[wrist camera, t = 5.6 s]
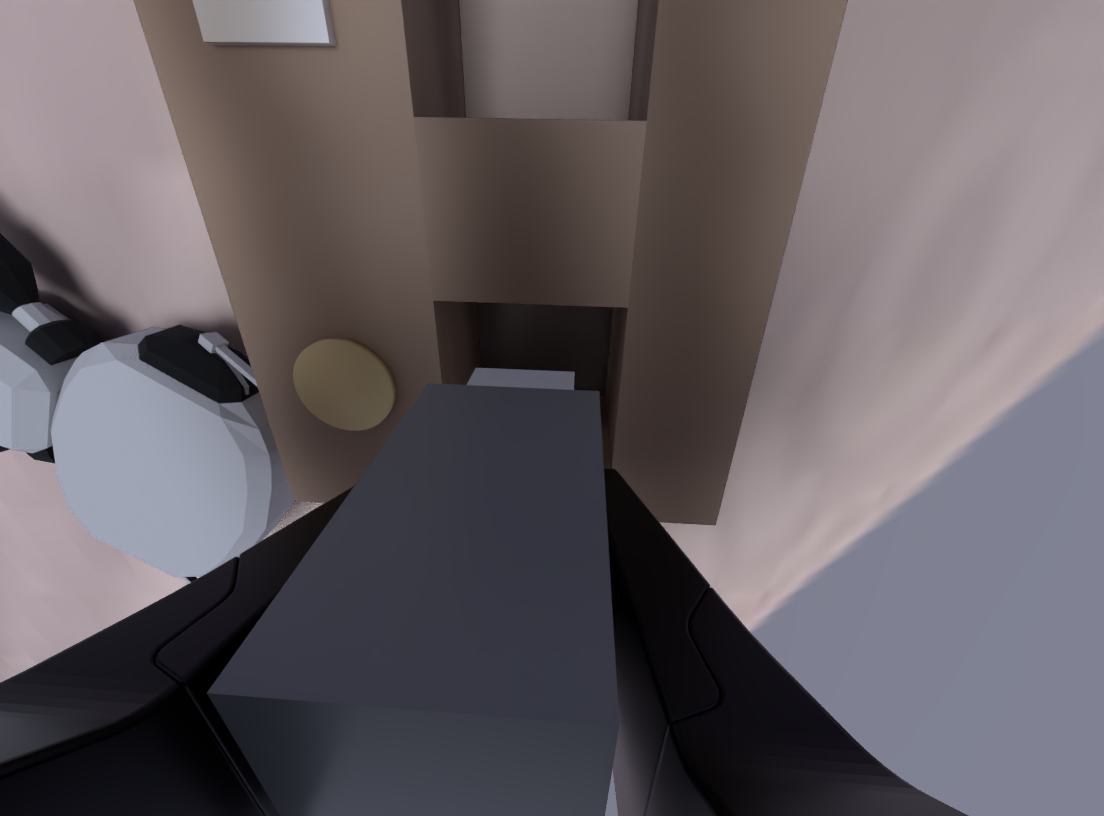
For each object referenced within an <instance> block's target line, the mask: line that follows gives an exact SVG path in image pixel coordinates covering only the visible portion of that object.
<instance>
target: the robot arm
mask: <svg viewBox="0 0 1104 816" xmlns="http://www.w3.org/2000/svg"><path fill="white" fill-rule="evenodd" d="M604 479H605V495H606V512H607V529H608V545H609V562H610V579H611V595H612V612H613V629H614V645H615V662H616V679H617V695H618V712H619V732H618V738H617V744H616V750H615V756H614V762H613V775H614V783H615V792H616V800H617V808H618V816H968V815H966V814H964V813H962V812H960V811H958V810H956V809H954V808H952V807H950V806H948V805H946V804H944V803H942V802H941V801H938V800H937V799H935V798H933V797H930V796H929V795H927V794H925V793H924V792H922V791H920V790H918V789H917V788H915V787H913V786H912V785H910V784H909V783H907V782H906V781H904V780H903V779H901V778H900V777H899V776H897V775H896V774H895V773H893V772H892V771H891V770H889V769H888V768H887V767H885V766H884V765H883V764H882V763H880V762H879V761H878V760H877V759H876V758H875V757H873V756H872V755H871V754H870V753H869V752H867V751H866V750H865V749H864V748H863V747H862V746H861V745H860V744H859V743H858V742H857V741H856V740H855V739H854V738H853V737H852V736H851V735H850V734H849V733H848V732H847V731H846V730H845V729H844V728H843V727H842V726H841V725H840V724H839V723H838V722H837V721H836V720H835V719H834V718H833V717H832V716H831V715H830V714H829V713H828V712H827V711H826V710H825V709H824V708H823V707H822V706H821V705H820V704H819V703H818V702H817V701H816V700H815V699H814V698H813V697H812V696H811V695H810V694H809V693H808V692H807V691H806V690H805V689H804V688H803V686H802V685H800V683H799V682H798V681H797V680H795V678H794V677H793V676H792V675H791V674H789V672H788V671H787V670H786V669H785V668H784V667H783V666H782V665H781V664H780V663H779V662H778V661H777V660H776V659H775V658H774V657H773V656H772V655H771V654H770V653H769V652H768V651H767V650H766V649H765V647H764V646H763V645H762V644H761V643H760V642H759V641H758V640H757V639H756V638H755V637H754V636H753V635H752V634H751V633H750V632H749V631H748V629H747V628H746V627H745V626H744V625H743V624H742V622H741V621H740V620H739V619H738V618H737V617H736V615H735V614H734V613H733V612H732V611H731V610H730V608H729V607H728V606H727V605H726V604H725V602H724V601H723V600H722V599H721V598H720V596H719V595H718V594H717V593H716V591H715V590H714V589H713V588H710V585H709V583H708V582H707V581H706V579H705V578H704V577H703V576H702V574H701V573H700V572H699V571H698V569H697V568H696V567H695V566H694V565H693V563H692V562H691V561H690V560H689V558H688V557H687V556H686V555H685V553H684V552H683V551H682V550H681V549H680V547H679V546H678V545H677V544H676V542H675V541H674V540H673V539H672V537H671V536H670V535H669V534H668V533H667V531H666V530H665V529H664V528H663V526H662V525H661V524H660V523H659V521H658V520H657V519H656V518H655V517H654V515H653V514H652V513H651V512H650V510H649V509H648V508H647V507H646V505H645V504H644V503H643V502H642V501H641V499H640V498H639V497H638V496H637V494H636V493H635V492H634V491H633V489H632V488H631V487H630V486H629V485H628V483H627V482H626V481H625V480H624V478H623V477H622V476H621V475H620V473H619V472H618V471H617V470H616V469H613V468H604ZM354 486H355V485H354ZM354 486H353V487H351V488H349V489H348V490H346V491H344V492H343V493H341V494H339V495H338V496H336V497H334V498H333V499H331V500H329V501H328V502H326V503H324V504H323V505H321V506H319V507H318V508H316V509H314V510H313V511H311V512H309V513H308V514H306V515H304V516H303V517H301V518H299V519H297V520H296V521H294V522H292V523H291V524H289V525H287V526H286V527H284V528H282V529H281V530H279V531H277V532H276V533H274V534H272V535H271V536H269V537H267V538H266V539H264V540H262V541H261V542H259V543H257V544H256V545H254V546H252V547H251V548H249V549H247V550H246V551H244V552H242V553H241V554H240V555H239V557H234V558H232V559H230V560H229V561H227V562H225V563H224V564H222V565H220V566H219V567H217V568H215V569H214V570H212V571H210V572H208V573H207V574H205V575H203V576H201V577H200V578H198V579H196V580H195V581H193V582H191V583H189V584H188V585H186V586H184V587H182V588H181V589H179V590H177V591H175V592H173V593H172V594H170V595H168V596H166V597H164V598H162V599H160V600H159V601H157V602H155V603H153V604H151V605H149V606H147V607H146V608H144V609H142V610H140V611H138V612H136V613H134V614H133V615H131V616H129V617H127V618H125V619H123V620H121V621H119V622H117V623H115V624H113V625H111V626H110V627H108V628H106V629H104V630H102V631H100V632H98V633H96V634H94V635H92V636H90V637H89V638H87V639H85V640H83V641H81V642H79V643H77V644H75V645H73V646H71V647H69V648H68V649H66V650H64V651H62V652H60V653H58V654H56V655H54V656H52V657H50V658H48V659H46V660H45V661H43V662H41V663H39V664H37V665H35V666H33V667H31V668H29V669H27V670H25V671H23V672H21V673H19V674H17V675H15V676H13V677H11V678H9V679H7V680H5V681H3V682H1V683H0V816H280V815H279V813H278V811H277V810H276V808H275V806H274V805H273V803H272V801H271V800H270V798H269V796H268V795H267V793H266V791H265V790H264V788H263V786H262V785H261V783H260V781H259V780H258V778H257V776H256V775H255V773H254V771H253V770H252V768H251V766H250V765H249V763H248V761H247V760H246V758H245V756H244V755H243V753H242V751H241V749H240V748H239V746H238V744H237V743H236V741H235V739H234V738H233V736H232V734H231V733H230V731H229V729H228V728H227V726H226V724H225V723H224V721H223V719H222V718H221V716H220V714H219V713H218V711H217V709H216V708H215V706H214V704H213V703H212V701H211V699H210V698H209V696H208V694H207V692H208V691H209V689H210V688H211V686H212V685H213V684H214V682H215V681H216V679H217V678H218V677H219V675H220V674H221V672H222V671H223V670H224V668H225V667H226V665H227V664H228V663H229V661H230V660H231V658H232V657H233V656H234V654H235V653H236V651H237V650H238V649H239V647H240V646H241V644H242V643H243V642H244V640H245V639H246V637H247V636H248V635H249V633H250V632H251V630H252V629H253V628H254V626H255V625H256V623H257V622H258V621H259V619H260V618H261V616H262V615H263V614H264V612H265V611H266V609H267V608H268V607H269V605H270V604H271V602H272V601H273V600H274V598H275V597H276V595H277V594H278V593H279V591H280V590H281V588H282V587H283V586H284V584H285V583H286V581H287V580H288V579H289V577H290V576H291V574H292V573H293V572H294V570H295V569H296V567H297V566H298V565H299V563H300V562H301V560H302V559H303V558H304V556H305V555H306V553H307V552H308V551H309V549H310V548H311V546H312V545H313V544H314V542H315V541H316V539H317V538H318V537H319V535H320V534H321V532H322V531H323V530H324V528H325V527H326V525H327V524H328V523H329V521H330V520H331V518H332V517H333V516H334V514H335V513H336V511H337V510H338V509H339V507H340V506H341V504H342V503H343V502H344V500H345V499H346V497H347V496H348V495H349V493H350V492H351V490H352V489H353V488H354Z"/></svg>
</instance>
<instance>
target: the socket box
mask: <svg viewBox="0 0 1104 816" xmlns="http://www.w3.org/2000/svg"><path fill="white" fill-rule="evenodd" d="M847 2H848V0H638V11H637V23H636V35H635V47H634V59H633V71H632V82H631V94H630V106H629V118H628V121H622V120H564V119H506V118H466V114H465V98H464V81H463V65H462V48H461V31H460V15H459V0H134V4H135V7H136V10H137V13H138V16H139V19H140V22H141V25H142V28H143V32H144V35H145V38H146V41H147V44H148V47H149V50H150V53H151V56H152V60H153V63H154V66H155V69H156V72H157V75H158V78H159V81H160V84H161V88H162V91H163V94H164V97H165V100H166V103H167V106H168V109H169V113H170V116H171V119H172V122H173V125H174V128H175V131H176V134H177V137H178V141H179V144H180V147H181V150H182V153H183V156H184V159H185V162H186V165H187V169H188V172H189V175H190V178H191V181H192V184H193V187H194V190H195V193H196V197H197V200H198V203H199V206H200V209H201V212H202V215H203V218H204V222H205V225H206V228H207V231H208V234H209V237H210V240H211V243H212V246H213V250H214V253H215V256H216V259H217V262H218V265H219V268H220V271H221V274H222V278H223V281H224V284H225V287H226V290H227V293H228V296H229V299H230V302H231V306H232V309H233V312H234V315H235V318H236V321H237V324H238V327H239V331H240V334H241V337H242V340H243V343H244V346H245V349H246V352H247V355H248V359H249V362H250V365H251V368H252V371H253V374H254V377H255V380H256V383H257V387H258V390H259V393H260V396H261V399H262V402H263V405H264V408H265V411H266V415H267V418H268V421H269V424H270V427H271V430H272V433H273V436H274V440H275V443H276V446H277V449H278V452H279V455H280V458H281V461H282V464H283V468H284V471H285V474H286V477H287V480H288V483H289V486H290V489H291V492H292V496H293V499H294V501H306V502H323V503H326V502H328V501H329V500H331V499H333V498H334V497H336V496H338V495H339V494H341V493H343V492H344V491H346V490H348V489H349V488H351V487H353V486H354V485H356V483H357V482H358V481H359V479H360V478H361V476H362V475H363V474H364V472H365V471H366V469H367V468H368V467H369V465H370V464H371V462H372V461H373V460H374V458H375V457H376V455H377V454H378V453H379V451H380V450H381V448H382V447H383V446H384V444H385V443H386V441H387V440H388V438H389V437H390V436H391V434H392V433H393V431H394V430H395V429H396V427H397V426H398V424H399V423H400V422H401V420H402V419H403V417H404V416H405V415H406V413H407V412H408V410H409V409H410V408H411V406H412V405H413V403H414V402H415V401H416V399H417V398H418V396H419V395H420V394H421V392H422V391H423V389H424V388H425V387H426V385H427V384H428V383H433V384H455V385H467V383H468V381H469V379H470V377H471V375H472V374H473V372H474V370H475V368H481V363H480V347H479V330H478V313H477V302H485V303H512V304H540V305H567V306H595V307H613V309H612V321H611V333H610V344H609V356H608V368H607V380H606V392H605V395H599V396H600V412H601V429H602V446H603V462H604V468H613V469H616V470H617V471H618V472H619V473H620V475H621V476H622V477H623V478H624V480H625V481H626V482H627V483H628V485H629V486H630V487H631V488H632V489H633V491H634V492H635V493H636V494H637V496H638V497H639V498H640V499H641V501H642V502H643V503H644V504H645V505H646V507H647V508H648V509H649V510H650V512H651V513H652V514H653V515H654V517H655V518H656V519H657V520H658V521H659V522H667V523H684V524H701V525H716V522H717V518H718V514H719V510H720V506H721V502H722V498H723V494H724V490H725V486H726V482H727V478H728V474H729V470H730V466H731V462H732V458H733V454H734V450H735V446H736V442H737V438H738V434H739V430H740V426H741V422H742V418H743V415H744V411H745V407H746V403H747V399H748V395H749V391H750V387H751V383H752V379H753V375H754V371H755V367H756V363H757V359H758V355H759V351H760V347H761V343H762V339H763V335H764V331H765V327H766V323H767V319H768V315H769V311H770V307H771V303H772V299H773V295H774V292H775V288H776V284H777V280H778V276H779V272H780V268H781V264H782V260H783V256H784V252H785V248H786V244H787V240H788V236H789V232H790V228H791V224H792V220H793V216H794V212H795V208H796V204H797V200H798V196H799V192H800V188H801V184H802V180H803V176H804V172H805V168H806V165H807V161H808V157H809V153H810V149H811V145H812V141H813V137H814V133H815V129H816V125H817V121H818V117H819V113H820V109H821V105H822V101H823V97H824V93H825V89H826V85H827V81H828V77H829V73H830V69H831V65H832V61H833V57H834V53H835V49H836V45H837V42H838V38H839V34H840V30H841V26H842V22H843V18H844V14H845V10H846V6H847Z"/></svg>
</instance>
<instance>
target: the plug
mask: <svg viewBox="0 0 1104 816" xmlns="http://www.w3.org/2000/svg"><path fill="white" fill-rule="evenodd" d="M574 376H575V372H565V371H542V370H519V369H496V368H475V370H474V372H473V374H472V375H471V377H470V379H469V381H468V383H467V385H455V384H433V383H428V384H427V385H426V387H425V388H424V389H423V391H422V392H421V394H420V395H419V396H418V398H417V399H416V401H415V402H414V403H413V405H412V406H411V408H410V409H409V410H408V412H407V413H406V415H405V416H404V417H403V419H402V420H401V422H400V423H399V424H398V426H397V427H396V429H395V430H394V431H393V433H392V434H391V436H390V437H389V438H388V440H387V441H386V443H385V444H384V446H383V447H382V448H381V450H380V451H379V453H378V454H377V455H376V457H375V458H374V460H373V461H372V462H371V464H370V465H369V467H368V468H367V469H366V471H365V472H364V474H363V475H362V476H361V478H360V479H359V481H358V482H357V483H356V485H355V486H354V488H353V489H352V490H351V492H350V493H349V495H348V496H347V497H346V499H345V500H344V502H343V503H342V504H341V506H340V507H339V509H338V510H337V511H336V513H335V514H334V516H333V517H332V518H331V520H330V521H329V523H328V524H327V525H326V527H325V528H324V530H323V531H322V532H321V534H320V535H319V537H318V538H317V539H316V541H315V542H314V544H313V545H312V546H311V548H310V549H309V551H308V552H307V553H306V555H305V556H304V558H303V559H302V560H301V562H300V563H299V565H298V566H297V567H296V569H295V570H294V572H293V573H292V574H291V576H290V577H289V579H288V580H287V581H286V583H285V584H284V586H283V587H282V588H281V590H280V591H279V593H278V594H277V595H276V597H275V598H274V600H273V601H272V602H271V604H270V605H269V607H268V608H267V609H266V611H265V612H264V614H263V615H262V616H261V618H260V619H259V621H258V622H257V623H256V625H255V626H254V628H253V629H252V630H251V632H250V633H249V635H248V636H247V637H246V639H245V640H244V642H243V643H242V644H241V646H240V647H239V649H238V650H237V651H236V653H235V654H234V656H233V657H232V658H231V660H230V661H229V663H228V664H227V665H226V667H225V668H224V670H223V671H222V672H221V674H220V675H219V677H218V678H217V679H216V681H215V682H214V684H213V685H212V686H211V688H210V689H209V691H208V692H207V694H208V696H209V698H210V699H211V701H212V703H213V704H214V706H215V708H216V709H217V711H218V713H219V714H220V716H221V718H222V719H223V721H224V723H225V724H226V726H227V728H228V729H229V731H230V733H231V734H232V736H233V738H234V739H235V741H236V743H237V744H238V746H239V748H240V749H241V751H242V753H243V755H244V756H245V758H246V760H247V761H248V763H249V765H250V766H251V768H252V770H253V771H254V773H255V775H256V776H257V778H258V780H259V781H260V783H261V785H262V786H263V788H264V790H265V791H266V793H267V795H268V796H269V798H270V800H271V801H272V803H273V805H274V806H275V808H276V810H277V811H278V813H279V815H280V816H605V810H606V804H607V798H608V792H609V786H610V780H611V773H612V768H613V762H614V756H615V750H616V744H617V738H618V732H619V712H618V695H617V679H616V662H615V645H614V629H613V612H612V595H611V579H610V562H609V545H608V529H607V512H606V495H605V479H604V462H603V446H602V429H601V412H600V396H599V391H587V390H574Z"/></svg>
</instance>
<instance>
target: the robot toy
mask: <svg viewBox="0 0 1104 816" xmlns="http://www.w3.org/2000/svg"><path fill="white" fill-rule="evenodd" d="M228 344H229V342H228V341H227V340H225V339H224V338H223V337H222V336H221V335H220V334H218V333H217V332H210V333H205V332H203V331H198V330H194V329H191V328H188V327H185V326H182V325H178V326H175V327H172V328H168V329H163V328H157V327H151V328H148V329H145V330H142V331H138V332H135V333H132V334H128V335H125V336H122V337H119V338H115V339H112V340H109V341H105V342H102V343H100V342H99V341H98V340H97V339H96V338H95V337H94V336H93V335H92V334H90V333H89V332H88V331H87V330H86V329H85V328H84V327H83V326H82V325H81V324H80V323H79V322H78V321H77V320H71V319H69V318H68V317H66V316H65V315H63V314H62V313H60V312H59V311H57V310H56V309H54V308H53V307H51V306H50V305H48V304H43V303H41V302H40V301H39V295H38V288H37V284H36V280H35V276H34V273H33V269H32V265H31V263H30V262H29V261H28V260H27V259H26V258H25V257H24V256H23V255H22V254H21V253H20V252H19V251H18V250H17V249H16V248H15V247H14V246H13V245H12V244H11V243H10V242H9V241H8V240H7V239H6V238H5V237H4V236H3V235H2V234H1V233H0V452H2V451H6V450H10V449H11V450H17V451H22V452H26V453H27V454H28V455H29V456H31V457H32V458H33V459H35V460H40V461H45V462H51V463H55V465H56V472H57V477H58V480H59V483H60V486H61V489H62V492H63V495H64V498H65V500H66V502H67V505H68V507H69V508H70V510H71V511H72V512H73V513H74V514H75V516H76V517H77V518H78V519H79V521H80V522H81V523H82V524H83V526H84V527H85V528H86V529H87V531H88V532H89V533H90V534H91V535H92V536H93V537H95V538H97V539H99V540H101V541H103V542H105V543H107V544H109V545H111V546H113V547H115V548H117V549H119V550H121V551H123V552H125V553H127V554H129V555H131V556H133V557H135V558H137V559H139V560H141V561H143V562H145V563H147V564H149V565H151V566H153V567H155V568H157V569H159V570H161V571H163V572H165V573H167V574H169V575H171V576H174V577H182V578H183V579H184V580H185V581H186V582H187V583H188V584H189V583H191V582H193V581H195V580H196V579H197V578H196V577H201V576H203V575H205V574H207V573H208V572H210V571H212V570H214V569H215V568H217V567H219V566H220V565H222V564H224V563H225V562H227V561H229V560H230V559H232V558H234V557H239V555H240V554H241V553H242V552H244V551H246V550H247V549H249V548H251V547H252V546H254V545H256V544H257V543H259V542H261V541H262V540H263V539H264V538H265V537H266V536H267V535H268V534H269V533H270V532H271V531H272V530H273V529H274V528H275V527H276V525H277V524H278V523H279V521H280V520H281V519H282V517H283V516H284V515H285V513H286V512H287V511H288V509H289V508H290V507H291V505H292V504H293V503H294V499H293V496H292V492H291V489H290V486H289V483H288V480H287V477H286V474H285V471H284V468H283V464H282V461H281V458H280V455H279V452H278V449H277V446H276V443H275V440H274V436H273V433H272V430H271V427H270V424H269V421H268V418H267V415H266V411H265V408H264V405H263V402H262V399H261V396H260V393H259V390H258V387H257V383H256V380H255V377H254V374H253V371H252V368H251V365H250V362H249V359H248V358H247V357H246V356H244V355H243V354H241V353H240V352H238V351H236V350H235V349H233V348H231V347H229V346H228Z"/></svg>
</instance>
